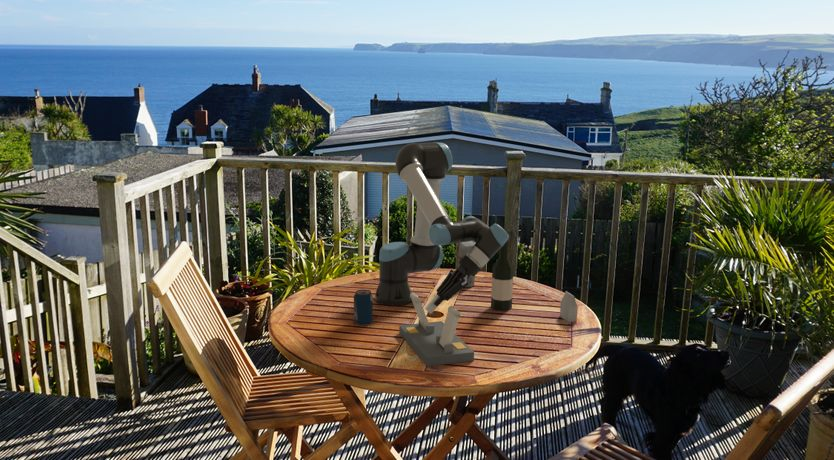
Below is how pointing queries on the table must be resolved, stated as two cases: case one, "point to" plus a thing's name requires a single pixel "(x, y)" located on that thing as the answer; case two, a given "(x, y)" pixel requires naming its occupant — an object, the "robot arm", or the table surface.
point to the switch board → (435, 344)
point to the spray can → (463, 250)
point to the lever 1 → (419, 310)
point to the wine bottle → (502, 281)
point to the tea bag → (568, 308)
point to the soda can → (363, 307)
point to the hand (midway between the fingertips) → (427, 311)
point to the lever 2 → (449, 326)
